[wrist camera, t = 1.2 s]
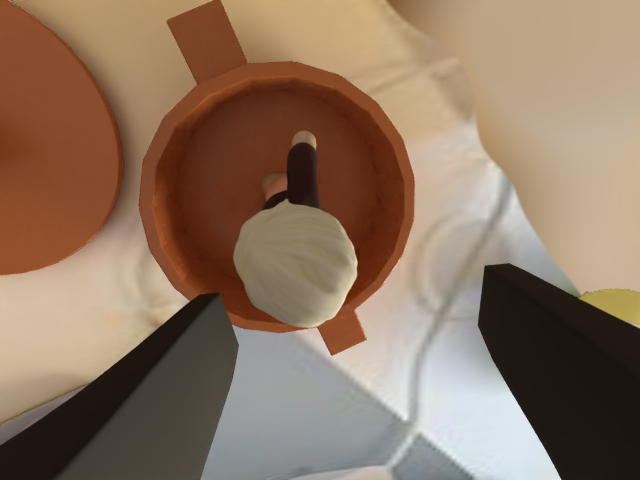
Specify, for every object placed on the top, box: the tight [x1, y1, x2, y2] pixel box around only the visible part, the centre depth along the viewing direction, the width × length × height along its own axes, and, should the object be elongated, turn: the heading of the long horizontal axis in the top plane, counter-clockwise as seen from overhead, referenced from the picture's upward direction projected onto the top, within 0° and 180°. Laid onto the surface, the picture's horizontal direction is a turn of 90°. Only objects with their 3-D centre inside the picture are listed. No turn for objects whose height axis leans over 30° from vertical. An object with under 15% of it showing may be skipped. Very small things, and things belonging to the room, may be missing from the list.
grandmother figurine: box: [233, 131, 357, 328], centre depth 14 cm, size 8×4×13 cm, turn 174°
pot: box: [139, 0, 415, 356], centre depth 18 cm, size 13×19×5 cm
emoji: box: [579, 289, 640, 328], centre depth 26 cm, size 4×12×12 cm
